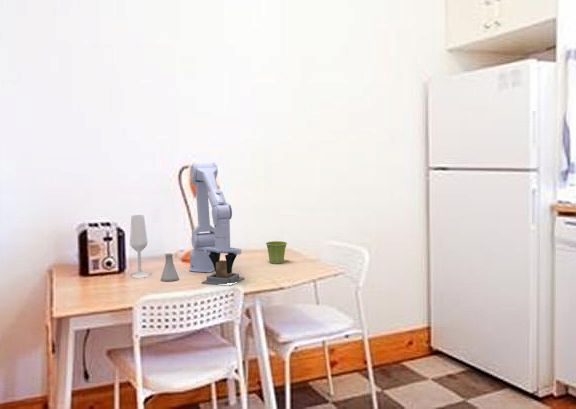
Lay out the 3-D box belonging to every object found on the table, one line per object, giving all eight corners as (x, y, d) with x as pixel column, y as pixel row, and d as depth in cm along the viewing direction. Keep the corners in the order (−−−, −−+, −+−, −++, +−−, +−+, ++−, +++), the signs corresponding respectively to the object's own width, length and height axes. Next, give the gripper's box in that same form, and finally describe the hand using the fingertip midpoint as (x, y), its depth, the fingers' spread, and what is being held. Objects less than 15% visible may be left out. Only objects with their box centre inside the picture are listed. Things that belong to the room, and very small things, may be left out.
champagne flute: (131, 274, 228) (129, 215, 226) (148, 273, 230) (146, 214, 227) (131, 278, 221) (128, 217, 219) (148, 277, 223) (146, 216, 221)
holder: (201, 283, 211) (201, 277, 211) (216, 276, 222) (216, 271, 222) (230, 286, 207) (230, 280, 207) (244, 278, 218) (244, 273, 218)
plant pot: (291, 261, 250) (291, 242, 249) (279, 265, 242) (279, 245, 241) (273, 259, 255) (273, 240, 254) (261, 263, 247) (261, 243, 246)
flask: (162, 282, 213) (162, 256, 212) (157, 278, 220) (157, 253, 219) (181, 280, 217) (180, 254, 216) (176, 276, 223) (175, 251, 222)
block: (216, 277, 214) (215, 262, 213) (221, 275, 218) (221, 260, 217) (226, 278, 212) (226, 262, 212) (232, 276, 216) (232, 261, 216)
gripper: (200, 237, 212) (201, 273, 213) (235, 239, 207) (235, 275, 208) (209, 234, 218) (210, 269, 220) (243, 236, 213) (244, 271, 214)
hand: (223, 272), depth 214 cm, fingers closed on block, 4 cm apart
